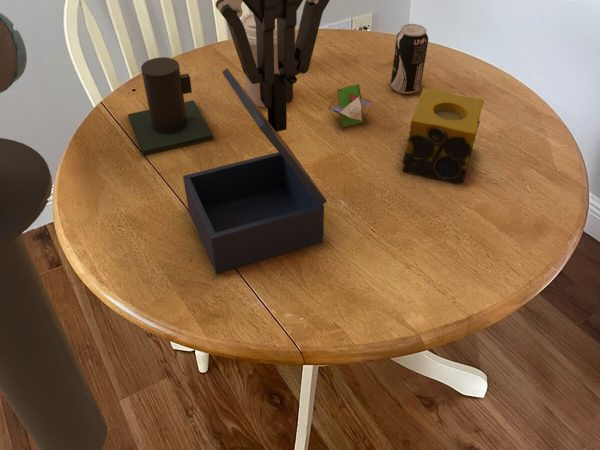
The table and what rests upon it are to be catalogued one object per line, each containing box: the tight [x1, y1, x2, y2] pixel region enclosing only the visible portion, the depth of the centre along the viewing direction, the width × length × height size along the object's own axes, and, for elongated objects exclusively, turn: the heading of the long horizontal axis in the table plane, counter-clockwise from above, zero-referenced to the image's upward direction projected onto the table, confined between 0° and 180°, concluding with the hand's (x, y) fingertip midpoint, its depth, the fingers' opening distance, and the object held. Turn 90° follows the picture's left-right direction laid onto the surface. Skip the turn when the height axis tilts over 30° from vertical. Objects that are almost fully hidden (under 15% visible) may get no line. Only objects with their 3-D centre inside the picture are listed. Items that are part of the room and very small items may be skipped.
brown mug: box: [140, 56, 193, 134], centre depth 98 cm, size 7×6×11 cm
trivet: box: [127, 100, 214, 157], centre depth 102 cm, size 12×12×1 cm
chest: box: [182, 151, 325, 275], centre depth 82 cm, size 16×14×7 cm
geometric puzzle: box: [327, 83, 374, 128], centre depth 102 cm, size 7×7×8 cm
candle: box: [401, 87, 485, 185], centre depth 93 cm, size 10×10×10 cm
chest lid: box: [221, 67, 328, 205], centre depth 76 cm, size 16×14×1 cm
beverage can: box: [390, 23, 429, 95], centre depth 108 cm, size 6×6×12 cm
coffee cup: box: [240, 12, 279, 109], centre depth 105 cm, size 10×10×15 cm
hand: (277, 125), depth 74 cm, fingers closed
